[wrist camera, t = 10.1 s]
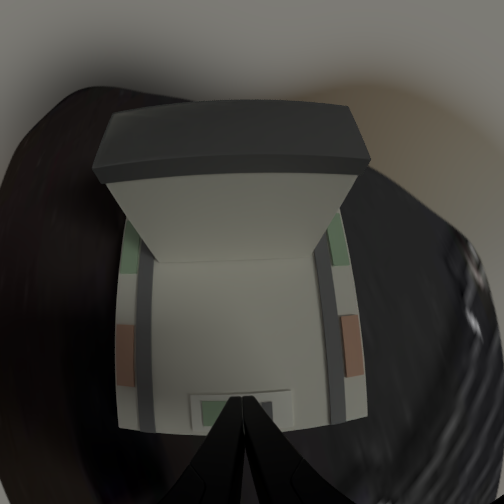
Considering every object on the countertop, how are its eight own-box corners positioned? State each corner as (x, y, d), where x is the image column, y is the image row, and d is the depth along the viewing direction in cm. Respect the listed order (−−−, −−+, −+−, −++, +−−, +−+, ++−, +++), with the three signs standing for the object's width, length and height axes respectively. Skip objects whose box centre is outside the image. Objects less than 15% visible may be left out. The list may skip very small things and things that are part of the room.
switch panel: (360, 413, 15) (369, 416, 14) (125, 424, 14) (117, 428, 13) (330, 195, 22) (335, 185, 21) (134, 202, 21) (129, 192, 20)
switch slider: (311, 258, 18) (371, 159, 9) (157, 264, 18) (91, 168, 8) (304, 216, 20) (347, 106, 10) (161, 221, 19) (113, 113, 10)
